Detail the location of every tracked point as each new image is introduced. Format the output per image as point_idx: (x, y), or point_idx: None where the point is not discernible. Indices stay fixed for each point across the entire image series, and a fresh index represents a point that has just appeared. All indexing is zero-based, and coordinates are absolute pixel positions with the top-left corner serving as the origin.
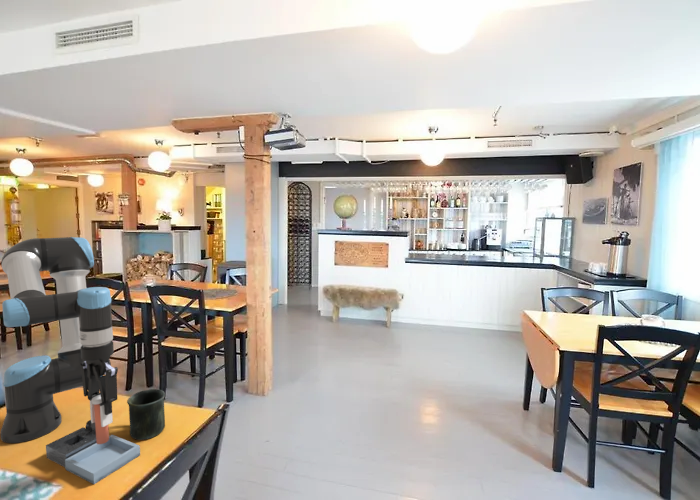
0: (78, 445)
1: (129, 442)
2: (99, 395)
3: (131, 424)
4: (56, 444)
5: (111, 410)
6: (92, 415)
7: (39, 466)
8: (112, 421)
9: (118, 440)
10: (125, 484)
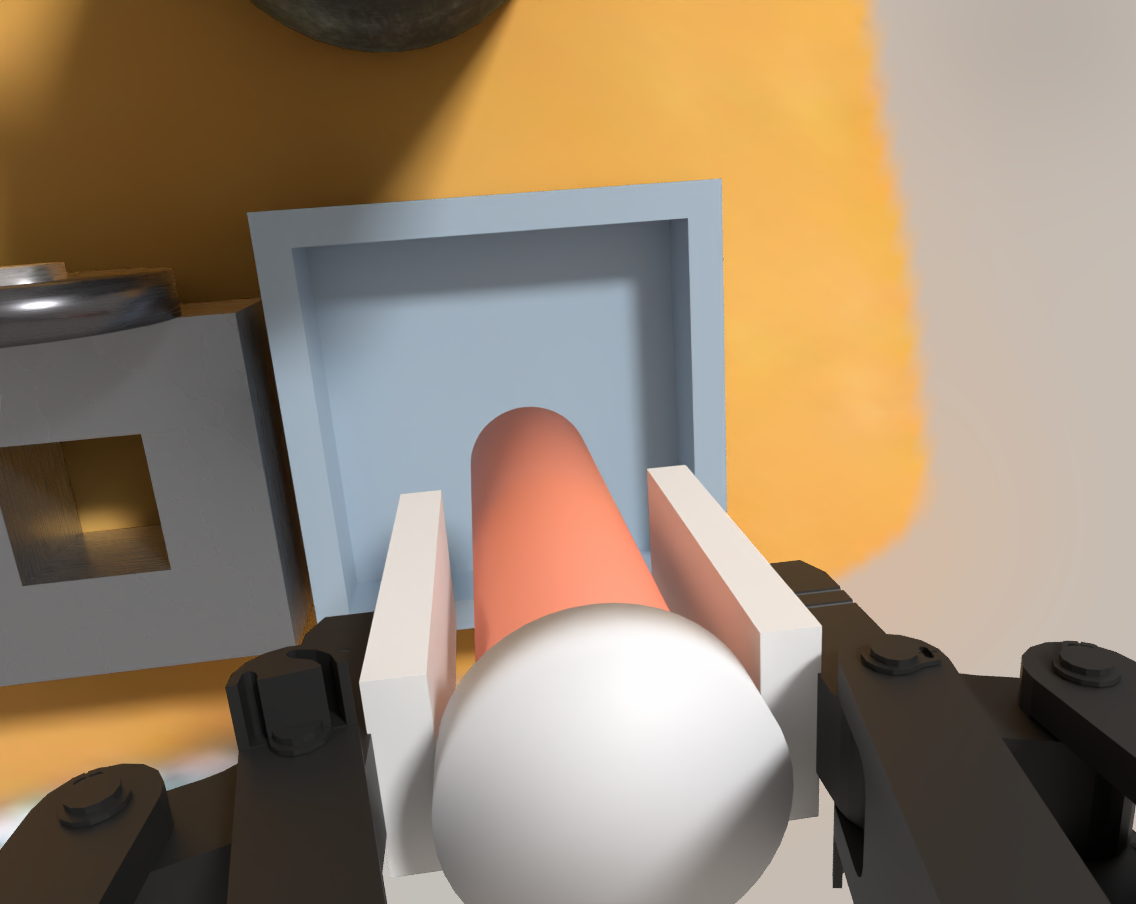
0: (228, 531)
1: (574, 200)
2: (475, 774)
3: (342, 20)
4: (13, 635)
5: (832, 592)
6: (455, 679)
7: (98, 691)
8: (689, 470)
9: (427, 236)
10: (904, 444)
